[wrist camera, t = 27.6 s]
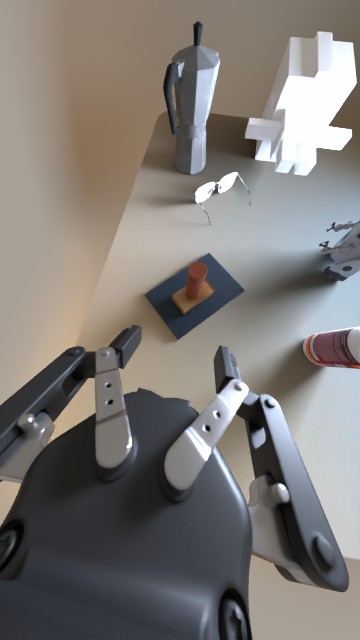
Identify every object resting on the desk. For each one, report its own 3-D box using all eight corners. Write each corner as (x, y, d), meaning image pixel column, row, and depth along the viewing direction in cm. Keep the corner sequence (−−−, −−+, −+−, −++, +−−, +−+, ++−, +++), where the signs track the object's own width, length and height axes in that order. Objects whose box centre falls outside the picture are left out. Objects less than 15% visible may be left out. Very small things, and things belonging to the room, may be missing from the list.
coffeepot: (193, 147, 43) (203, 5, 25) (215, 161, 41) (243, 19, 24) (157, 171, 40) (141, 27, 22) (181, 187, 38) (183, 46, 21)
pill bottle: (311, 370, 26) (405, 380, 15) (295, 339, 27) (369, 329, 17) (339, 360, 26) (448, 363, 16) (321, 330, 28) (410, 314, 17)
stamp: (183, 316, 28) (186, 294, 18) (172, 301, 29) (168, 272, 18) (209, 298, 29) (226, 267, 19) (198, 284, 30) (208, 247, 20)
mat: (178, 339, 27) (178, 339, 26) (145, 295, 30) (144, 294, 29) (243, 291, 30) (244, 290, 29) (208, 254, 32) (209, 252, 32)
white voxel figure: (231, 194, 40) (240, 127, 45) (317, 205, 39) (316, 136, 44) (260, 109, 26) (269, 24, 31) (396, 124, 25) (382, 35, 30)
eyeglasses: (233, 187, 38) (240, 168, 35) (249, 207, 37) (258, 191, 33) (191, 205, 36) (194, 188, 32) (208, 227, 35) (212, 213, 31)
